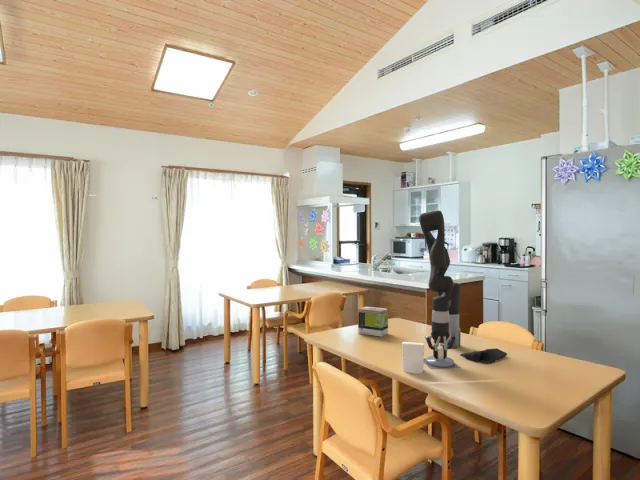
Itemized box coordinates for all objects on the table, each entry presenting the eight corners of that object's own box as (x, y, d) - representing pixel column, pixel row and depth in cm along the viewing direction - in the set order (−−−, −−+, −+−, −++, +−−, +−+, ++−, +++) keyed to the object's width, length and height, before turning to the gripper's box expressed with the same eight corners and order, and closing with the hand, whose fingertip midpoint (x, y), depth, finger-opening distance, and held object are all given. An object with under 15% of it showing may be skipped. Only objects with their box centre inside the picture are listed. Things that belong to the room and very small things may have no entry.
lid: (447, 358, 190) (447, 344, 190) (458, 367, 178) (458, 352, 178) (422, 359, 189) (422, 345, 189) (432, 368, 177) (432, 353, 177)
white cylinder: (401, 373, 172) (401, 345, 172) (402, 366, 181) (402, 339, 180) (423, 375, 170) (423, 347, 169) (423, 368, 178) (423, 341, 178)
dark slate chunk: (513, 359, 193) (513, 349, 193) (482, 367, 182) (482, 356, 182) (485, 351, 206) (485, 341, 206) (455, 357, 195) (455, 348, 195)
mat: (448, 359, 192) (448, 357, 192) (461, 369, 178) (461, 367, 178) (419, 359, 190) (419, 358, 190) (430, 370, 176) (430, 368, 176)
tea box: (388, 333, 238) (388, 308, 237) (381, 337, 229) (381, 311, 229) (365, 330, 246) (365, 305, 245) (357, 333, 237) (357, 308, 237)
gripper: (451, 318, 188) (451, 355, 188) (422, 318, 186) (421, 356, 187) (459, 321, 180) (458, 360, 181) (428, 322, 179) (427, 361, 179)
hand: (439, 358), depth 184 cm, fingers closed on lid, 3 cm apart
